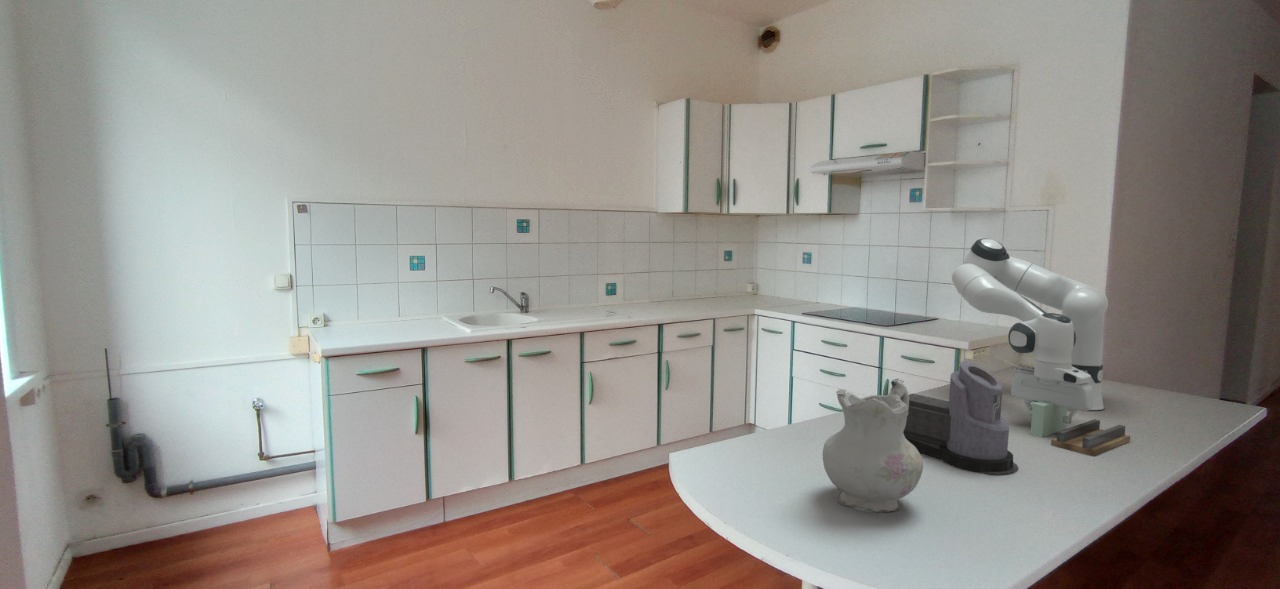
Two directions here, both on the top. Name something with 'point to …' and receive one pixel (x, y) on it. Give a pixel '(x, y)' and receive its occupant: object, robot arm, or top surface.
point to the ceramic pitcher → (873, 451)
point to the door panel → (1047, 418)
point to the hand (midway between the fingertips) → (1048, 418)
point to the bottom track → (1090, 438)
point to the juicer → (963, 424)
